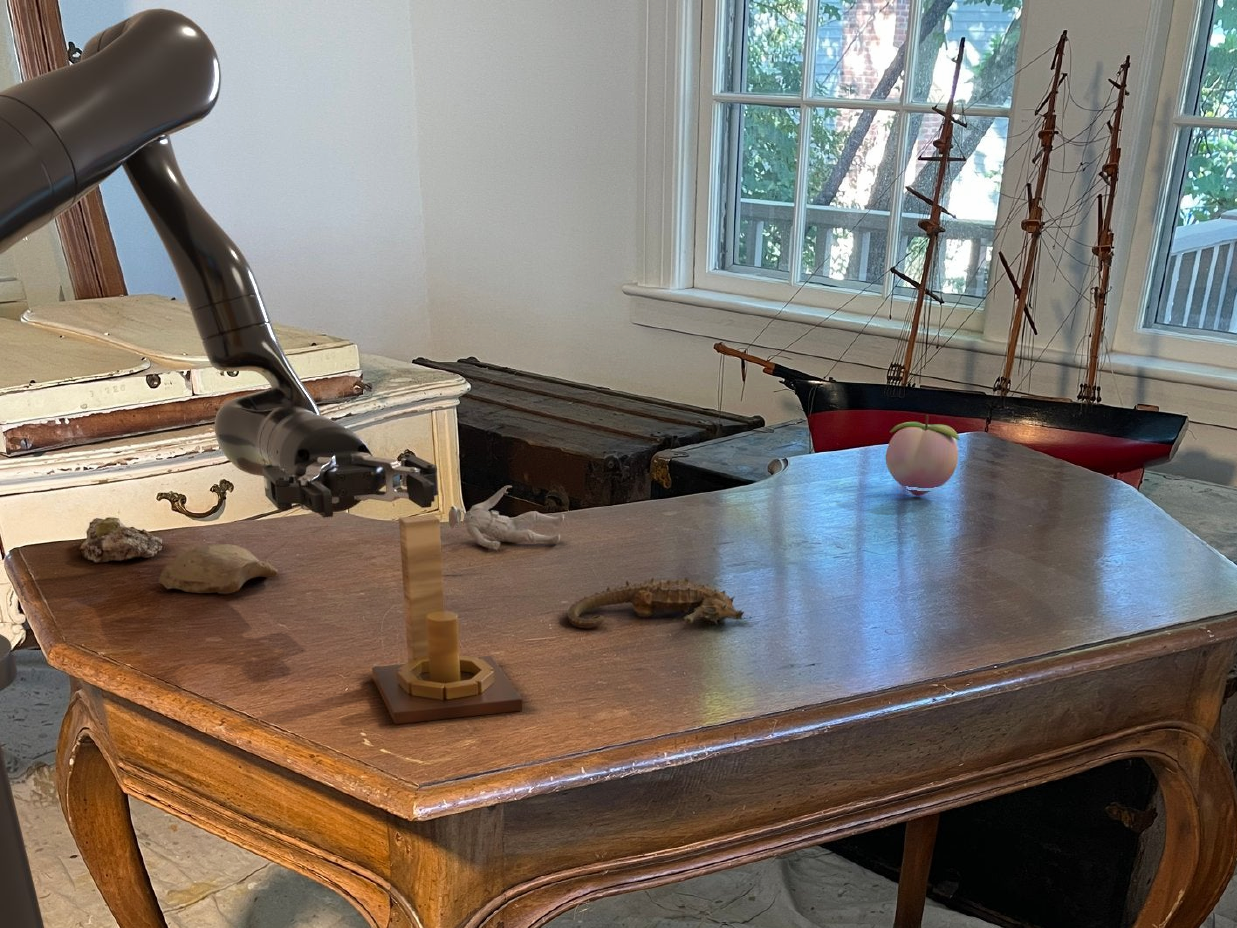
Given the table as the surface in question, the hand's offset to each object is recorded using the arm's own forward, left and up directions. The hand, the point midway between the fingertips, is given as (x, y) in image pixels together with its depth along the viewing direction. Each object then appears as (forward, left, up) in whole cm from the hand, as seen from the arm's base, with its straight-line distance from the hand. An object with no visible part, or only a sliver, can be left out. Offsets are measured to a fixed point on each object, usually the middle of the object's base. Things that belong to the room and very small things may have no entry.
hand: (379, 500), depth 107 cm
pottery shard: (-12, +21, -13) cm, 27 cm away
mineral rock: (-22, +35, -13) cm, 43 cm away
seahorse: (+25, 0, -13) cm, 28 cm away
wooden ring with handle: (+2, -13, -12) cm, 17 cm away
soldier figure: (+18, +29, -13) cm, 37 cm away
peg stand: (+2, -13, -13) cm, 18 cm away
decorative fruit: (+75, +38, -13) cm, 85 cm away
